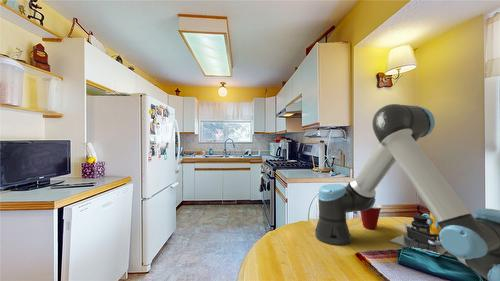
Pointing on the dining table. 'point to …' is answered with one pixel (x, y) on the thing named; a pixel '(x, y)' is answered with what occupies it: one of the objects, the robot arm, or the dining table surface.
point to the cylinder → (433, 224)
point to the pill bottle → (420, 224)
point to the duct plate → (416, 244)
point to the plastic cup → (371, 217)
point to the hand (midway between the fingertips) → (423, 226)
